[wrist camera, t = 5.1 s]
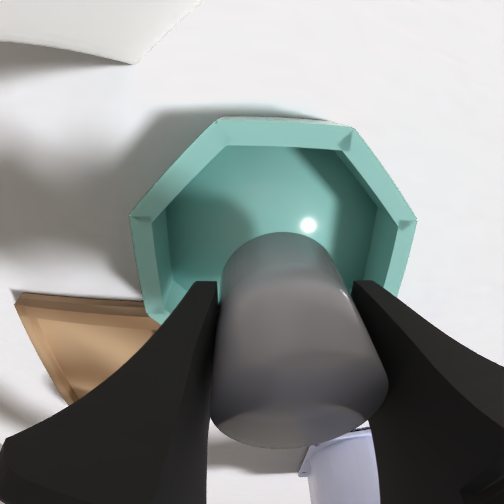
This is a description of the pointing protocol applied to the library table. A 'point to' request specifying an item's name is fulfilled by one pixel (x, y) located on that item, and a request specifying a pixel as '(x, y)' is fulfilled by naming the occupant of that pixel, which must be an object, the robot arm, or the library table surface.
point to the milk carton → (93, 24)
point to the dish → (269, 205)
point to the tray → (83, 337)
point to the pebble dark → (290, 348)
